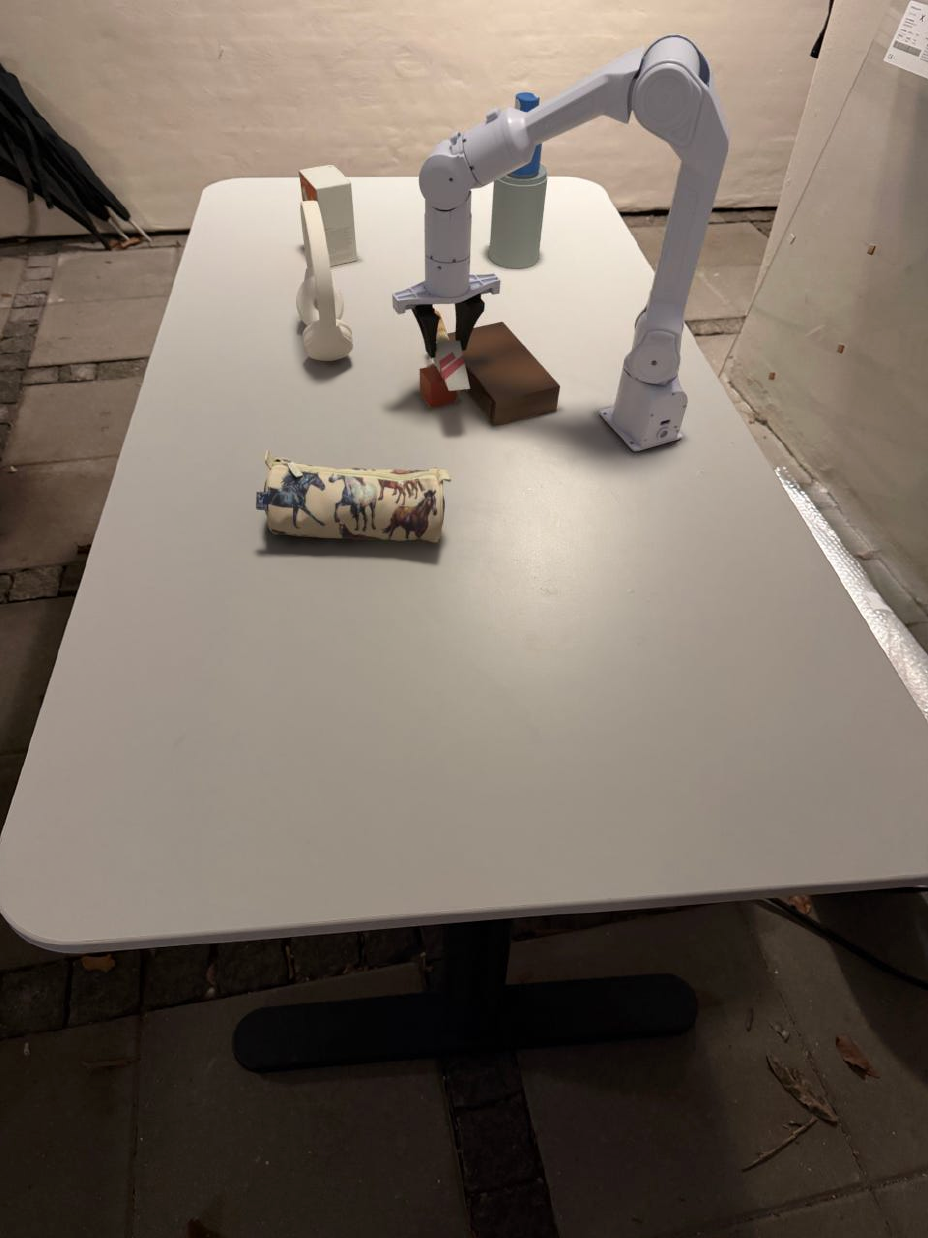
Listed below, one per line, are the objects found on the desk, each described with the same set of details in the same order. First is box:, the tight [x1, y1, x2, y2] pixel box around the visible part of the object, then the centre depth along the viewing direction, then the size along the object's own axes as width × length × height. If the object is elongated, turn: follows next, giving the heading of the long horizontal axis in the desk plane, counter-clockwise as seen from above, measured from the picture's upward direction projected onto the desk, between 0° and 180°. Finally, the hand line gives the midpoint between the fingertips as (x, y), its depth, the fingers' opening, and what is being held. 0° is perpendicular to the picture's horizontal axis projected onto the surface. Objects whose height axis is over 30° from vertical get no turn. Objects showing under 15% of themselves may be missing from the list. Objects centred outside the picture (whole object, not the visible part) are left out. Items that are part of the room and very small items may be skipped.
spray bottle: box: [488, 91, 548, 270], centre depth 129 cm, size 9×9×25 cm
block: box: [419, 364, 458, 409], centre depth 110 cm, size 4×4×4 cm
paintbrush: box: [433, 309, 470, 391], centre depth 107 cm, size 4×3×20 cm
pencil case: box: [255, 449, 452, 543], centre depth 90 cm, size 22×8×10 cm, turn 88°
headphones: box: [295, 201, 354, 362], centre depth 111 cm, size 7×18×20 cm, turn 13°
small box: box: [298, 164, 358, 267], centre depth 132 cm, size 8×6×13 cm
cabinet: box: [447, 321, 561, 427], centre depth 112 cm, size 18×11×4 cm, turn 25°
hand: (446, 350), depth 107 cm, fingers closed on paintbrush, 4 cm apart
